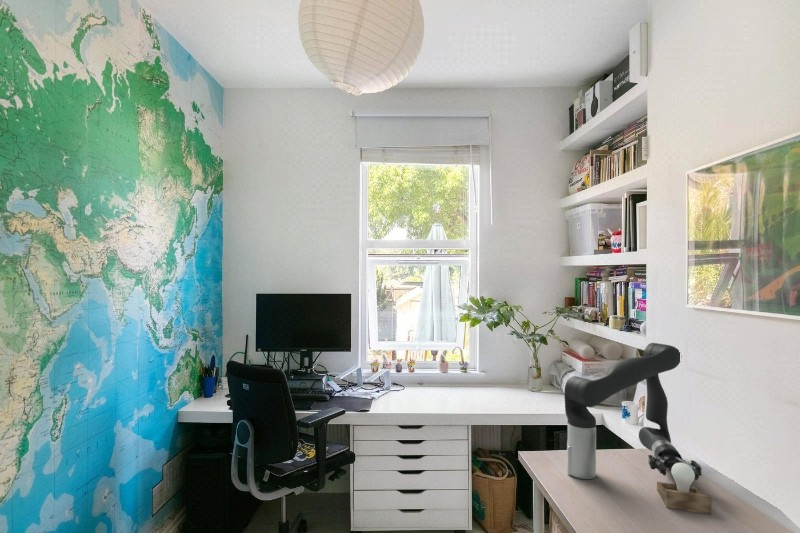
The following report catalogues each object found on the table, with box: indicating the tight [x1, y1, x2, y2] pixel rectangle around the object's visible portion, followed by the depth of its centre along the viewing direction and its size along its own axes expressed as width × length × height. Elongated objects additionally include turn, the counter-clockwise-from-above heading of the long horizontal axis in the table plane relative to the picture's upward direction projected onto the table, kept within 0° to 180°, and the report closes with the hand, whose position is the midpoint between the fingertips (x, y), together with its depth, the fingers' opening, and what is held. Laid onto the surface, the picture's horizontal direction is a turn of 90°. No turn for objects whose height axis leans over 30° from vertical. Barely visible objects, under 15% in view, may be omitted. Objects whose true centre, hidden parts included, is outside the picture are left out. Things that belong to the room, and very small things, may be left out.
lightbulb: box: [670, 463, 695, 492], centre depth 133 cm, size 6×6×11 cm
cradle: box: [656, 481, 712, 515], centre depth 133 cm, size 11×11×5 cm
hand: (680, 474), depth 135 cm, fingers open, 8 cm apart
